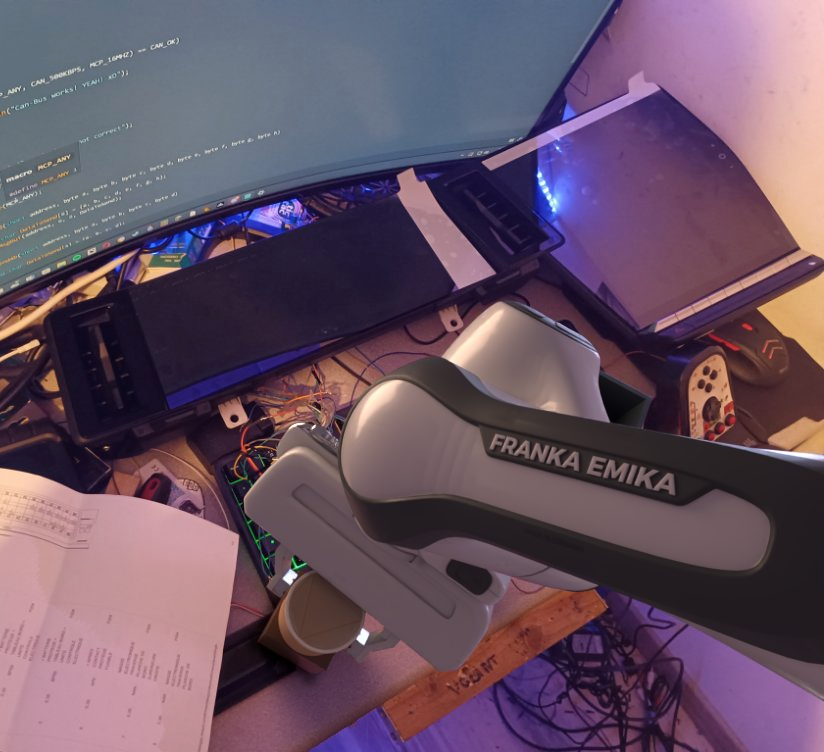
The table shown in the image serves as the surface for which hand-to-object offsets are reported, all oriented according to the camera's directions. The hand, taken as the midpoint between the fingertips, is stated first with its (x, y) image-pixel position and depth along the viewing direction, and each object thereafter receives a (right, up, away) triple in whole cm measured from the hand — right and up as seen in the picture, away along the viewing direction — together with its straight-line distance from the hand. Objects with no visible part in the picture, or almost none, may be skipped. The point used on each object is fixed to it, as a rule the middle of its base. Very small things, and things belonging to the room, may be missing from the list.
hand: (314, 621), depth 57 cm
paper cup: (0, -1, +4) cm, 4 cm away
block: (-2, -6, +14) cm, 15 cm away
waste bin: (+28, +12, +26) cm, 40 cm away
